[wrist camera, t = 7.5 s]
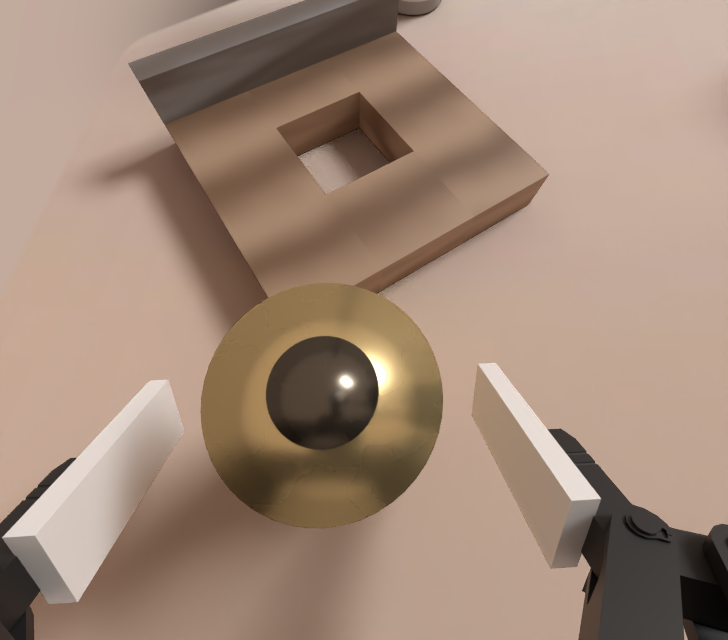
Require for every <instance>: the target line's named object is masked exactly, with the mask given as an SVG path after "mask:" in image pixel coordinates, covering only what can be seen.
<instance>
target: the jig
mask: <svg viewBox="0 0 728 640" xmlns="http://www.w3.org/2000/svg"><path fill="white" fill-rule="evenodd" d="M398 3H399V0H305V1H302V2H299V3H297V4H294V5H291V6H288V7H285V8H283V9H280V10H277V11H274V12H271V13H268V14H266V15H263V16H260V17H257V18H254V19H252V20H249V21H246V22H243V23H240V24H238V25H235V26H232V27H229V28H226V29H224V30H221V31H218V32H215V33H212V34H209V35H207V36H204V37H201V38H198V39H195V40H193V41H190V42H187V43H184V44H181V45H179V46H176V47H173V48H170V49H167V50H164V51H162V52H159V53H156V54H153V55H150V56H148V57H145V58H142V59H139V60H136V61H134V62H131V63H128V64H129V66H130V68H131V69H132V71H133V73H134V74H135V76H136V78H137V79H138V81H139V83H140V84H141V86H142V88H143V89H144V91H145V93H146V94H147V96H148V98H149V99H150V101H151V103H152V104H153V106H154V108H155V109H156V111H157V113H158V114H159V116H160V118H161V119H162V121H163V123H164V124H165V126H166V128H167V129H168V131H169V133H170V134H171V136H172V138H173V139H174V141H175V143H176V144H177V146H178V148H179V149H180V151H181V153H182V154H183V156H184V158H185V159H186V161H187V163H188V164H189V166H190V168H191V169H192V171H193V173H194V174H195V176H196V178H197V180H198V181H199V183H200V185H201V186H202V188H203V190H204V191H205V193H206V195H207V196H208V198H209V200H210V201H211V203H212V205H213V206H214V208H215V210H216V211H217V213H218V215H219V216H220V218H221V220H222V221H223V223H224V225H225V226H226V228H227V230H228V231H229V233H230V235H231V236H232V238H233V240H234V241H235V243H236V245H237V246H238V248H239V250H240V251H241V253H242V255H243V256H244V258H245V260H246V261H247V263H248V265H249V266H250V268H251V270H252V271H253V273H254V275H255V276H256V278H257V280H258V281H259V283H260V285H261V286H262V288H263V290H264V291H265V293H266V295H267V296H268V298H269V297H271V296H273V295H275V294H277V293H280V292H282V291H285V290H288V289H291V288H294V287H298V286H302V285H307V284H316V283H339V284H346V285H352V286H356V287H360V288H363V289H366V290H368V291H371V292H374V293H378V292H380V291H382V290H383V289H385V288H387V287H388V286H390V285H392V284H394V283H395V282H397V281H399V280H400V279H402V278H404V277H405V276H407V275H409V274H411V273H412V272H414V271H416V270H417V269H419V268H421V267H423V266H424V265H426V264H428V263H429V262H431V261H433V260H435V259H436V258H438V257H440V256H441V255H443V254H445V253H446V252H448V251H450V250H452V249H453V248H455V247H457V246H458V245H460V244H462V243H464V242H465V241H467V240H469V239H470V238H472V237H474V236H476V235H477V234H479V233H481V232H482V231H484V230H486V229H487V228H489V227H491V226H493V225H494V224H496V223H498V222H499V221H501V220H503V219H505V218H506V217H508V216H510V215H511V214H513V213H515V212H517V211H518V210H520V209H522V208H523V207H525V206H527V205H528V204H529V203H530V202H531V200H532V199H533V197H534V196H535V194H536V193H537V191H538V190H539V189H540V187H541V186H542V184H543V183H544V181H545V180H546V178H547V177H548V175H549V173H548V172H547V171H546V170H545V169H544V168H543V167H541V166H540V165H539V164H538V163H537V162H536V161H535V160H534V159H533V158H532V157H531V156H530V155H529V154H527V153H526V152H525V151H524V150H523V149H522V148H521V147H520V146H519V145H518V144H517V143H516V142H515V141H514V140H512V139H511V138H510V137H509V136H508V135H507V134H506V133H505V132H504V131H503V130H502V129H501V128H500V127H498V126H497V125H496V124H495V123H494V122H493V121H492V120H491V119H490V118H489V117H488V116H487V115H486V114H484V113H483V112H482V111H481V110H480V109H479V108H478V107H477V106H476V105H475V104H474V103H473V102H472V101H470V100H469V99H468V98H467V97H466V96H465V95H464V94H463V93H462V92H461V91H460V90H459V89H458V88H457V87H455V86H454V85H453V84H452V83H451V82H450V81H449V80H448V79H447V78H446V77H445V76H444V75H443V74H441V73H440V72H439V71H438V70H437V69H436V68H435V67H434V66H433V65H432V64H431V63H430V62H429V61H427V60H426V59H425V58H424V57H423V56H422V55H421V54H420V53H419V52H418V51H417V50H416V49H415V48H414V47H412V46H411V45H410V44H409V43H408V42H407V41H406V40H405V39H404V38H403V37H402V36H401V35H400V34H398V33H397V32H396V27H397V15H398ZM357 128H360V129H361V130H362V131H363V132H364V133H365V134H366V136H367V137H368V138H369V139H370V140H371V141H372V142H373V144H374V145H375V146H376V147H377V148H378V149H379V150H380V152H381V153H382V154H383V155H384V156H385V157H386V158H387V160H388V161H389V162H390V163H389V164H387V165H385V166H383V167H381V168H379V169H377V170H375V171H373V172H371V173H369V174H367V175H365V176H363V177H361V178H359V179H357V180H355V181H353V182H351V183H349V184H347V185H345V186H343V187H341V188H339V189H337V190H335V191H333V192H331V193H329V194H327V195H326V194H325V192H324V191H323V190H322V188H321V187H320V186H319V184H318V183H317V182H316V180H315V179H314V178H313V176H312V175H311V174H310V172H309V171H308V170H307V168H306V167H305V166H304V164H303V163H302V162H301V161H300V159H299V158H298V157H297V156H298V155H301V154H303V153H305V152H307V151H309V150H311V149H314V148H316V147H318V146H320V145H322V144H324V143H327V142H329V141H331V140H333V139H335V138H337V137H340V136H342V135H344V134H346V133H348V132H351V131H353V130H355V129H357Z"/></svg>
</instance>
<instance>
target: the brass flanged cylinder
mask: <svg viewBox="0 0 728 640" xmlns="http://www.w3.org/2000/svg"><path fill="white" fill-rule="evenodd" d="M442 408H443V392H442V382H441V377H440V372H439V368H438V365H437V362H436V359H435V356H434V353H433V351H432V349H431V347H430V345H429V343H428V341H427V339H426V338H425V336H424V335H423V333H422V332H421V330H420V329H419V328H418V326H417V325H416V324H415V323H414V322H413V320H412V319H411V318H410V317H409V316H408V315H407V314H406V313H404V312H403V311H402V310H401V309H400V308H399V307H397V306H396V305H395V304H393V303H392V302H390V301H389V300H387V299H385V298H383V297H382V296H380V295H378V294H376V293H374V292H371V291H368V290H366V289H363V288H360V287H356V286H352V285H346V284H339V283H316V284H307V285H302V286H298V287H294V288H291V289H288V290H285V291H282V292H280V293H277V294H275V295H273V296H271V297H269V298H267V299H266V300H264V301H262V302H261V303H259V304H258V305H256V306H255V307H253V308H252V309H251V310H250V311H248V312H247V313H246V314H245V315H243V316H242V317H241V318H240V319H239V320H238V321H237V322H236V323H235V324H234V325H233V327H232V328H231V329H230V330H229V332H228V333H227V334H226V336H225V337H224V338H223V340H222V341H221V343H220V345H219V346H218V348H217V350H216V351H215V354H214V356H213V358H212V360H211V362H210V364H209V367H208V371H207V374H206V377H205V380H204V385H203V391H202V397H201V423H202V431H203V436H204V440H205V445H206V448H207V450H208V453H209V456H210V459H211V461H212V463H213V465H214V467H215V468H216V470H217V472H218V474H219V476H220V477H221V478H222V480H223V481H224V482H225V484H226V485H227V486H228V488H229V489H230V490H231V491H232V492H233V493H234V494H235V495H236V496H237V497H238V498H239V499H240V500H241V501H242V502H244V503H245V504H246V505H248V506H249V507H251V508H252V509H253V510H255V511H256V512H258V513H260V514H262V515H264V516H266V517H268V518H270V519H272V520H275V521H278V522H281V523H284V524H287V525H292V526H298V527H304V528H329V527H336V526H343V525H346V524H349V523H353V522H356V521H360V520H362V519H364V518H366V517H368V516H371V515H373V514H375V513H377V512H378V511H380V510H381V509H383V508H384V507H386V506H388V505H389V504H391V503H392V502H393V501H394V500H395V499H397V498H398V497H399V496H400V495H401V494H402V493H404V492H405V491H406V489H407V488H408V487H409V486H410V485H411V484H412V483H413V482H414V480H415V479H416V478H417V476H418V475H419V473H420V472H421V471H422V469H423V468H424V466H425V465H426V463H427V461H428V459H429V457H430V455H431V452H432V450H433V448H434V445H435V442H436V439H437V436H438V433H439V429H440V424H441V419H442Z"/></svg>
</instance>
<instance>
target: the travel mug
mask: <svg viewBox="0 0 728 640" xmlns="http://www.w3.org/2000/svg"><path fill="white" fill-rule="evenodd" d="M440 2H441V0H399V3H398V13H400V14H405V15H421V14H425V13H428V12H430V11H432V10H434V9H435V8H436V7H437V6H438V5H439V4H440Z"/></svg>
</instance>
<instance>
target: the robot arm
mask: <svg viewBox="0 0 728 640" xmlns="http://www.w3.org/2000/svg"><path fill="white" fill-rule="evenodd" d="M472 417H473V419H474V421H475V422H476V424H477V426H478V428H479V430H480V432H481V434H482V436H483V438H484V440H485V442H486V444H487V446H488V448H489V450H490V452H491V454H492V456H493V457H494V459H495V461H496V463H497V465H498V467H499V469H500V471H501V473H502V475H503V477H504V479H505V481H506V483H507V485H508V487H509V489H510V491H511V492H512V494H513V496H514V498H515V500H516V502H517V504H518V506H519V508H520V510H521V512H522V514H523V516H524V518H525V520H526V522H527V524H528V526H529V528H530V529H531V531H532V533H533V535H534V537H535V539H536V541H537V543H538V545H539V547H540V549H541V551H542V553H543V555H544V557H545V559H546V561H547V563H548V564H549V566H550V568H551V569H552V568H566V567H577V565H578V562H579V560H580V557H581V554H583V556H584V557H585V559H586V560H587V562H588V564H589V565H590V567H591V569H590V572H589V574H588V577H587V579H586V582H585V585H584V587H583V590H582V591H583V592H585V593H586V594H585V600H584V607H583V613H582V620H581V627H580V633H579V640H684V629H685V632H686V635H687V638H688V640H728V525H726V524H720V525H716V526H714V527H713V528H712V530H711V531H710V533H709V535H708V536H706V535H701V534H697V533H692V532H688V531H683V530H678V529H674V528H671V527H669V526H668V525H667V524H666V523H665V522H664V521H663V520H661V519H660V518H659V517H658V516H657V515H655V514H653V513H651V512H650V511H648V510H646V509H644V508H641V507H638V506H635V505H632V504H631V503H630V502H629V501H628V499H627V498H626V497H625V496H624V495H623V494H622V492H621V491H620V490H619V489H618V488H617V487H616V485H615V484H614V483H613V482H612V481H611V480H610V478H609V477H608V476H607V475H606V474H605V473H604V471H603V470H602V469H601V468H600V467H599V466H598V464H595V461H594V460H593V459H592V457H591V456H590V455H589V454H587V453H586V450H585V449H584V448H583V447H582V446H581V445H580V443H579V442H578V441H577V440H576V439H575V438H574V437H572V436H571V435H569V434H568V433H566V432H565V431H563V430H562V429H547V428H546V427H545V426H544V425H543V423H542V422H541V421H540V419H539V418H538V417H537V416H536V414H535V413H534V412H533V410H532V409H531V408H530V407H529V405H528V404H527V403H526V401H525V400H524V399H523V398H522V396H521V395H520V394H519V392H518V391H517V390H516V389H515V387H514V386H513V385H512V383H511V382H510V381H509V380H508V378H507V377H506V376H505V374H504V373H503V372H502V371H501V369H500V368H499V367H498V365H497V364H496V363H483V364H478V367H477V375H476V384H475V392H474V400H473V408H472ZM183 433H184V428H183V425H182V422H181V419H180V416H179V412H178V409H177V406H176V403H175V400H174V396H173V393H172V390H171V387H170V384H169V380H153V381H149V382H148V383H147V384H146V385H145V386H144V387H143V388H142V389H141V390H140V392H139V393H138V394H137V395H136V396H135V397H134V398H133V399H132V400H131V401H130V402H129V403H128V404H127V405H126V406H125V407H124V409H123V410H122V411H121V412H120V413H119V414H118V415H117V416H116V417H115V418H114V419H113V420H112V421H111V422H110V423H109V424H108V426H107V427H106V428H105V429H104V430H103V431H102V432H101V433H100V434H99V435H98V436H97V437H96V438H95V439H94V440H93V441H92V443H91V444H90V445H89V446H88V447H87V448H86V449H85V450H84V451H83V452H82V453H81V454H80V455H79V456H78V457H77V458H70V459H69V460H67V461H66V462H64V463H63V464H61V465H60V466H58V467H57V468H56V469H54V470H53V471H51V472H50V473H49V475H48V476H47V477H46V478H45V479H44V480H43V481H42V482H41V483H40V484H39V485H38V487H37V488H35V489H34V490H33V491H32V492H31V493H30V494H29V495H28V496H27V497H26V500H24V501H22V502H21V503H20V504H19V505H18V506H17V507H16V508H15V509H14V510H13V511H12V512H11V513H10V514H9V515H8V516H7V517H6V518H5V519H4V520H3V521H2V522H1V523H0V640H34V614H33V612H32V609H31V607H30V606H29V605H30V604H31V603H32V601H33V600H34V598H35V597H36V596H37V594H38V593H39V592H40V593H41V594H42V595H43V597H44V598H45V600H46V601H47V602H48V604H60V603H74V602H78V601H79V599H80V598H81V596H82V594H83V593H84V591H85V590H86V588H87V586H88V585H89V583H90V582H91V580H92V578H93V577H94V575H95V574H96V572H97V570H98V569H99V567H100V566H101V564H102V562H103V561H104V559H105V558H106V556H107V554H108V553H109V551H110V550H111V548H112V546H113V545H114V543H115V542H116V540H117V538H118V537H119V535H120V534H121V532H122V530H123V529H124V527H125V526H126V524H127V522H128V521H129V519H130V518H131V516H132V514H133V513H134V511H135V510H136V508H137V506H138V505H139V503H140V502H141V500H142V498H143V497H144V495H145V494H146V492H147V490H148V489H149V487H150V486H151V484H152V482H153V481H154V479H155V478H156V476H157V474H158V473H159V471H160V469H161V468H162V466H163V465H164V463H165V461H166V460H167V458H168V457H169V455H170V453H171V452H172V450H173V449H174V447H175V445H176V444H177V442H178V441H179V439H180V437H181V436H182V434H183ZM683 626H684V629H683Z"/></svg>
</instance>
